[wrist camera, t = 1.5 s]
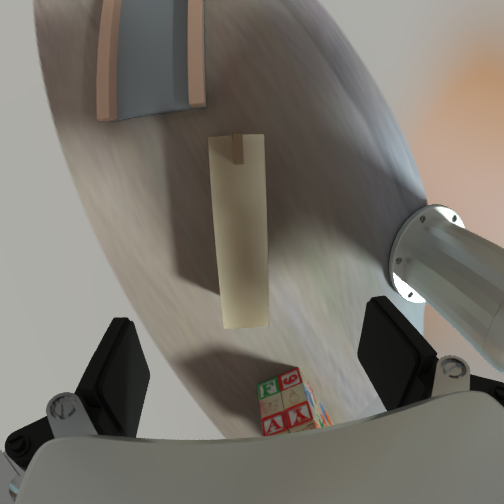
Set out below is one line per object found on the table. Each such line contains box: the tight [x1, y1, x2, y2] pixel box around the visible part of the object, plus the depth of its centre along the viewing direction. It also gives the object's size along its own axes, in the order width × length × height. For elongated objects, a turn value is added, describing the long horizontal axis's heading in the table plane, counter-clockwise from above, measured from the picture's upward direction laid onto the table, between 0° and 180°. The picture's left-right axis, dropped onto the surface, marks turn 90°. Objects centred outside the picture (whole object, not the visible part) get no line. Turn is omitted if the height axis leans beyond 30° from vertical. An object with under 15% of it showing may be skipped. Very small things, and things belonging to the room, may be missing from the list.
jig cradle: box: [96, 0, 207, 122], centre depth 18 cm, size 9×20×3 cm, turn 3°
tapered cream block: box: [208, 133, 269, 329], centre depth 23 cm, size 4×16×9 cm, turn 2°
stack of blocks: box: [257, 368, 333, 436], centre depth 33 cm, size 21×6×12 cm, turn 27°
